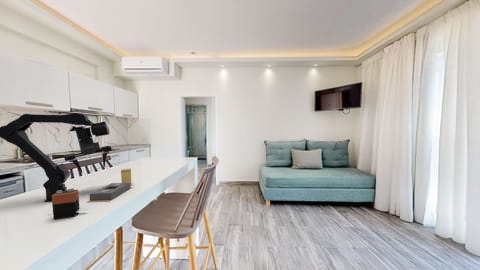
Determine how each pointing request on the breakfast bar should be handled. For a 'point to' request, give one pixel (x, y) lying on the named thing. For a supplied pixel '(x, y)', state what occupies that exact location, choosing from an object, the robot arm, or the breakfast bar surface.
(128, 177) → the plug
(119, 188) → the panel
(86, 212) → the breakfast bar surface
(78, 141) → the robot arm
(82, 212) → the breakfast bar surface
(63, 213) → the battery
